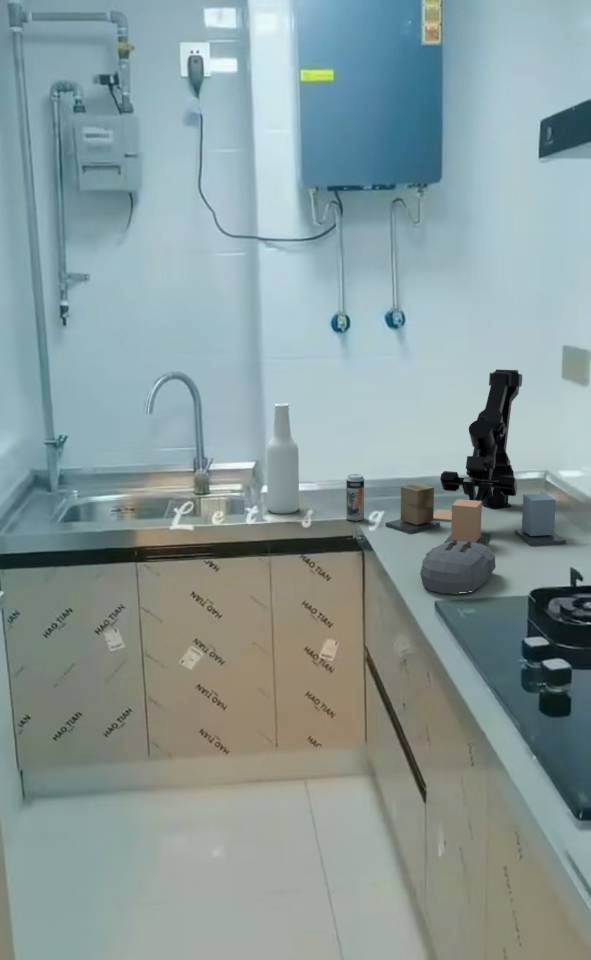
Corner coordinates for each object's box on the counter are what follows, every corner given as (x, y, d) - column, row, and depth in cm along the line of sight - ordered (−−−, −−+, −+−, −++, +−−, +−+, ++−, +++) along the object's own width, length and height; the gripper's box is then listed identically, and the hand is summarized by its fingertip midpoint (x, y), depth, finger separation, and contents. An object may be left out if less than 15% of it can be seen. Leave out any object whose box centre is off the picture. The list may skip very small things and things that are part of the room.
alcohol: (271, 505, 268) (269, 401, 261) (301, 506, 266) (300, 401, 259) (264, 513, 259) (262, 406, 252) (295, 515, 258) (294, 406, 251)
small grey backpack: (437, 564, 216) (407, 592, 198) (438, 529, 214) (408, 554, 196) (502, 573, 209) (477, 602, 192) (503, 537, 207) (478, 563, 190)
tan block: (456, 534, 234) (457, 499, 231) (480, 536, 231) (481, 501, 229) (451, 540, 228) (452, 505, 226) (475, 543, 226) (476, 507, 224)
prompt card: (437, 511, 259) (437, 509, 259) (470, 514, 256) (470, 512, 256) (429, 519, 251) (429, 517, 251) (462, 523, 248) (462, 520, 248)
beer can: (343, 520, 252) (343, 476, 249) (350, 516, 256) (350, 473, 253) (359, 522, 249) (359, 478, 247) (367, 518, 254) (367, 474, 251)
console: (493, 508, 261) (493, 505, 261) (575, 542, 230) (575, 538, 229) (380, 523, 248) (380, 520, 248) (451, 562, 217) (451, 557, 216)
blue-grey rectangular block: (521, 529, 237) (523, 494, 235) (544, 527, 238) (546, 493, 236) (530, 536, 231) (532, 500, 229) (554, 534, 232) (555, 499, 230)
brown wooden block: (417, 516, 250) (417, 483, 248) (433, 520, 245) (434, 487, 243) (400, 520, 247) (401, 486, 244) (416, 524, 242) (417, 491, 240)
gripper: (442, 440, 239) (431, 492, 232) (516, 444, 232) (507, 499, 225) (449, 463, 248) (438, 514, 241) (520, 468, 241) (511, 521, 234)
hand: (472, 512), depth 235 cm, fingers closed
